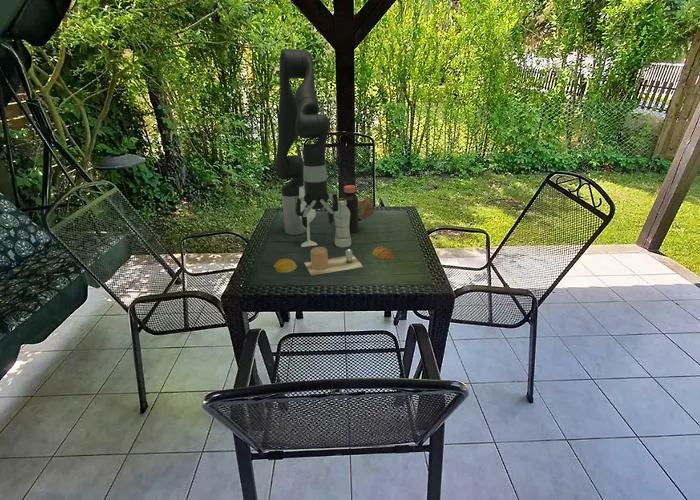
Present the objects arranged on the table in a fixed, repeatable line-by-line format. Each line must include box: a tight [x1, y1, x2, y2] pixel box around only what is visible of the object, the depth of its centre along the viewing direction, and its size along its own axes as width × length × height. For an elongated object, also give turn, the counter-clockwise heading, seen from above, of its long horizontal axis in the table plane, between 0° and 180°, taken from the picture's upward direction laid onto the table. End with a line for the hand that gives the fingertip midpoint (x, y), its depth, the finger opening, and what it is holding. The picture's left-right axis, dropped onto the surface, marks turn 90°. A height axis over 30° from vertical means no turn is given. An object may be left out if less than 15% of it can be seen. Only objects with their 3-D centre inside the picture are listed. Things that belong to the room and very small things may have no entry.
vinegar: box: [341, 184, 359, 234], centre depth 184 cm, size 7×7×20 cm
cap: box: [310, 246, 329, 271], centre depth 150 cm, size 6×6×6 cm
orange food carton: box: [358, 197, 374, 220], centre depth 204 cm, size 15×3×8 cm, turn 147°
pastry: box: [371, 246, 395, 261], centre depth 160 cm, size 9×7×4 cm
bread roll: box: [273, 258, 298, 273], centre depth 152 cm, size 8×9×4 cm
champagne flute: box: [299, 186, 318, 248], centre depth 169 cm, size 7×7×24 cm
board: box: [303, 254, 364, 276], centre depth 153 cm, size 11×19×2 cm, turn 109°
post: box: [345, 248, 353, 264], centre depth 154 cm, size 2×2×5 cm
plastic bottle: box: [333, 198, 352, 249], centre depth 167 cm, size 6×7×20 cm
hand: (317, 225), depth 145 cm, fingers open, 8 cm apart
